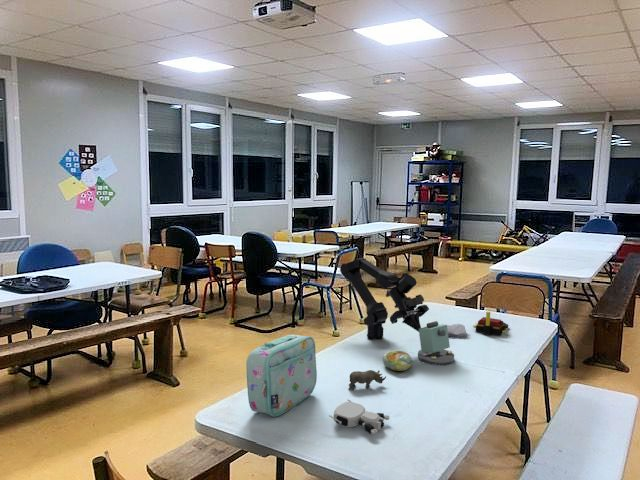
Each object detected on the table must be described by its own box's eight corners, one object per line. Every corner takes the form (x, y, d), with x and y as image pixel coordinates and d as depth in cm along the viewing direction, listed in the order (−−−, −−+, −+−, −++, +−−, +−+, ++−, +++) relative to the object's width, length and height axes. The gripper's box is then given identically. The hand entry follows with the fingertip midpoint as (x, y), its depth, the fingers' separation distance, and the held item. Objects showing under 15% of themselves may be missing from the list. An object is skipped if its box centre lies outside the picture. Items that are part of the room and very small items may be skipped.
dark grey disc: (410, 357, 202) (410, 350, 201) (433, 350, 210) (433, 343, 210) (438, 368, 191) (439, 361, 190) (461, 360, 199) (461, 353, 199)
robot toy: (390, 425, 149) (345, 410, 156) (392, 411, 148) (346, 396, 155) (374, 444, 138) (326, 427, 145) (376, 429, 137) (327, 412, 144)
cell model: (414, 354, 198) (414, 353, 184) (408, 374, 197) (408, 374, 182) (387, 346, 201) (385, 344, 186) (381, 366, 199) (379, 365, 185)
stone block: (467, 342, 227) (463, 331, 237) (468, 332, 226) (464, 321, 235) (440, 342, 229) (437, 331, 238) (441, 332, 227) (438, 321, 237)
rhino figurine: (388, 387, 173) (388, 370, 172) (349, 391, 170) (350, 374, 169) (384, 383, 177) (384, 366, 176) (346, 386, 174) (346, 369, 173)
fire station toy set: (470, 333, 235) (471, 310, 233) (482, 323, 251) (483, 301, 250) (502, 339, 227) (504, 315, 226) (513, 328, 244) (514, 305, 242)
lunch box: (270, 425, 146) (270, 354, 143) (243, 416, 151) (242, 347, 149) (319, 392, 168) (320, 330, 166) (294, 386, 174) (294, 325, 171)
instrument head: (421, 351, 199) (417, 324, 200) (437, 346, 206) (434, 319, 206) (437, 353, 193) (434, 324, 194) (453, 347, 199) (450, 320, 200)
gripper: (395, 291, 202) (416, 325, 195) (426, 285, 214) (446, 316, 206) (381, 307, 209) (400, 339, 202) (411, 300, 221) (430, 331, 213)
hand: (420, 331), depth 206 cm, fingers closed
